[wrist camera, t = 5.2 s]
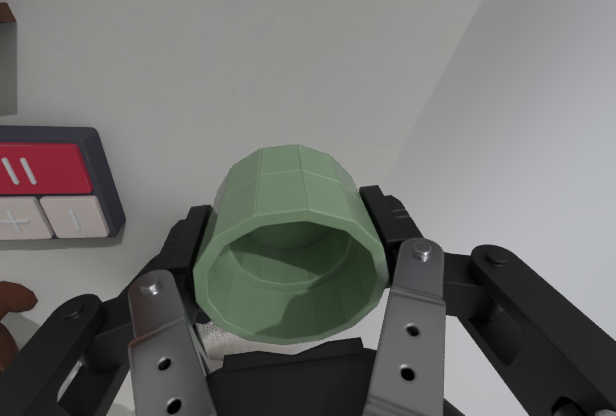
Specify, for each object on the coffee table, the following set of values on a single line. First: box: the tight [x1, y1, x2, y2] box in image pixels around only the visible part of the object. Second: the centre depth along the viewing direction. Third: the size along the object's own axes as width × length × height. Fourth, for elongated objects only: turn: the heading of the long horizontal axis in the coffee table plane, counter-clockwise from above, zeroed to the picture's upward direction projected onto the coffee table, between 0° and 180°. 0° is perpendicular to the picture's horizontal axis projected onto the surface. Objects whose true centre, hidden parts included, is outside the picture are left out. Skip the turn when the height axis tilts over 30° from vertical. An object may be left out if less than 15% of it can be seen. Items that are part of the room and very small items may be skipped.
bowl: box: [193, 144, 390, 345], centre depth 11 cm, size 6×6×5 cm
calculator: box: [0, 125, 126, 240], centre depth 29 cm, size 11×4×15 cm
